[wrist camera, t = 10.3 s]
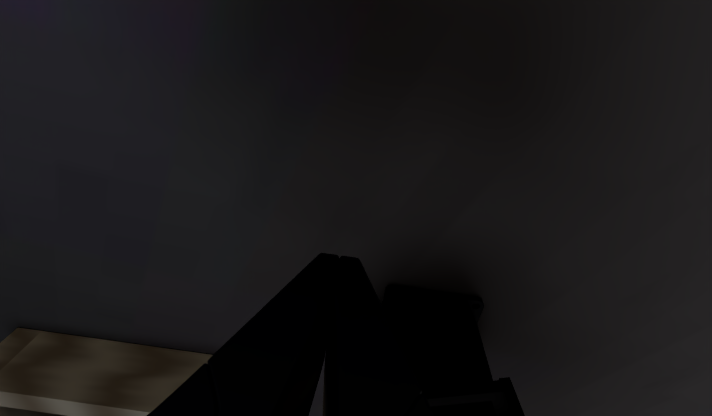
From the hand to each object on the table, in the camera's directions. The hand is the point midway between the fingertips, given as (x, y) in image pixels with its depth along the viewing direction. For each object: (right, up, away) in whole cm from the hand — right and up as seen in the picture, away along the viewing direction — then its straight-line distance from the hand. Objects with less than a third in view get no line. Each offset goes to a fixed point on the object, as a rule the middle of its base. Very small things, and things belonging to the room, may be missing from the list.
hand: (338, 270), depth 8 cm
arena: (-18, -19, +26) cm, 37 cm away
